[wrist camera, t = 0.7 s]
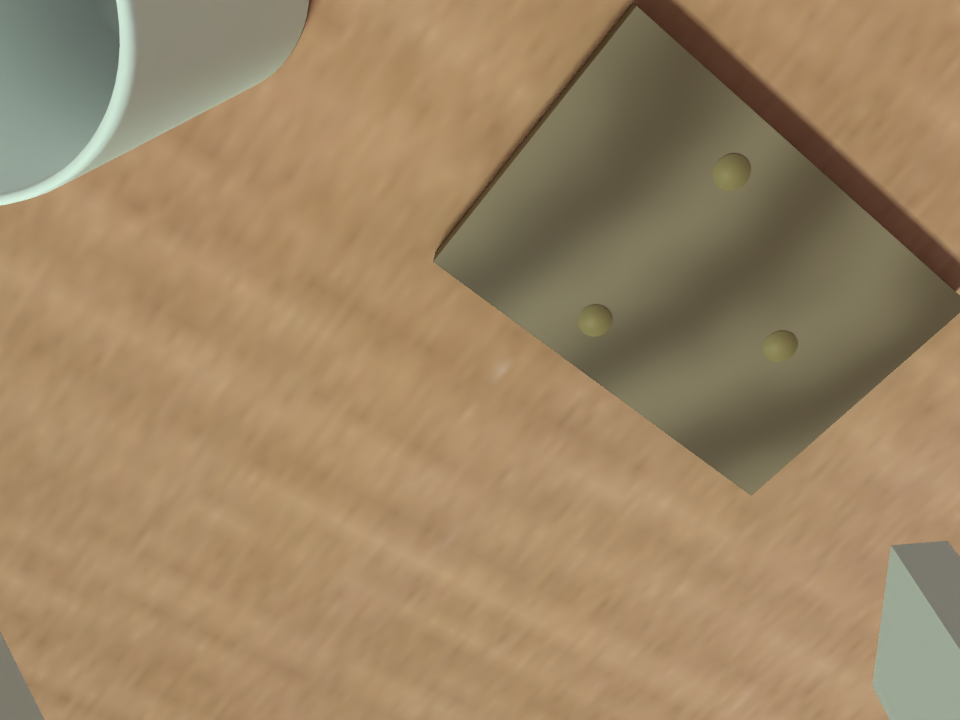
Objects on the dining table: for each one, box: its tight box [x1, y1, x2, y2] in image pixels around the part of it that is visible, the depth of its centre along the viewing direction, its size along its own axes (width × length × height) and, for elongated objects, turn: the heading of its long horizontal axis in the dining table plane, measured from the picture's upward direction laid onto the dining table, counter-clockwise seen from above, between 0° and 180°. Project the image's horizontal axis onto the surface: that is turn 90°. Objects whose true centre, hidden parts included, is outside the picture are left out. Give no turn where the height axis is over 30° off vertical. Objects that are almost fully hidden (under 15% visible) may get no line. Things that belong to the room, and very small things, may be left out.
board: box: [433, 4, 960, 495], centre depth 34 cm, size 18×12×1 cm, turn 52°
